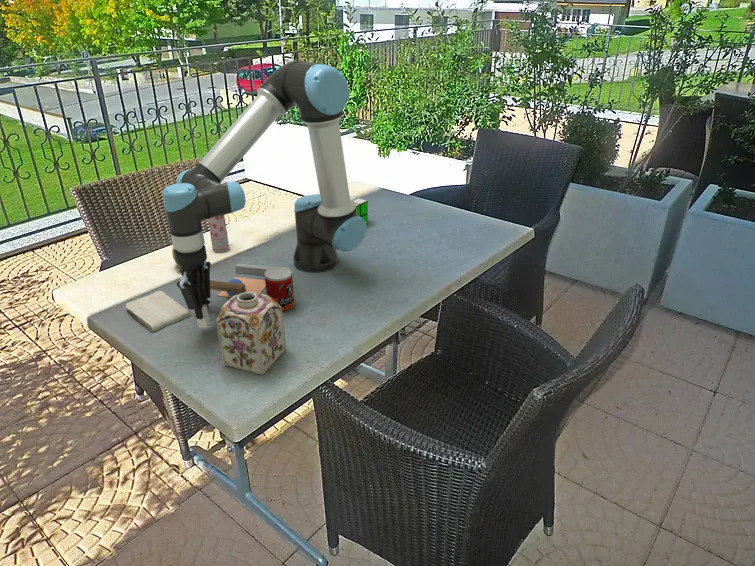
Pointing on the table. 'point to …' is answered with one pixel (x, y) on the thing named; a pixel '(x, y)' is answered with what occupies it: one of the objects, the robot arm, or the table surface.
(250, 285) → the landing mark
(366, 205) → the puzzle cube
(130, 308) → the washcloth
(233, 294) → the ball
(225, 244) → the beverage can
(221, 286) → the bridge
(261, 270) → the grey long bar
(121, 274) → the table surface
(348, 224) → the robot arm
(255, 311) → the decorative jar
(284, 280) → the canned food
